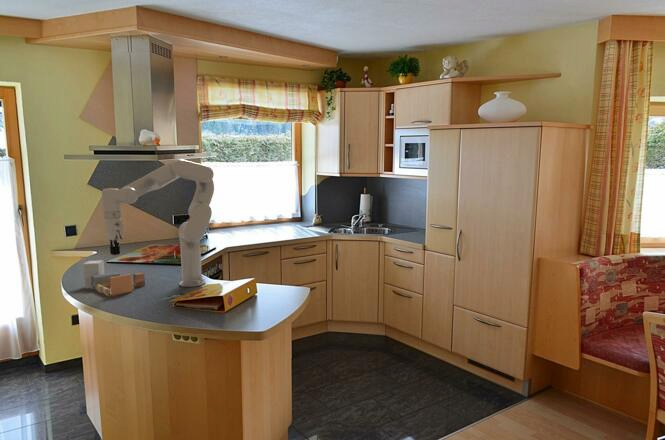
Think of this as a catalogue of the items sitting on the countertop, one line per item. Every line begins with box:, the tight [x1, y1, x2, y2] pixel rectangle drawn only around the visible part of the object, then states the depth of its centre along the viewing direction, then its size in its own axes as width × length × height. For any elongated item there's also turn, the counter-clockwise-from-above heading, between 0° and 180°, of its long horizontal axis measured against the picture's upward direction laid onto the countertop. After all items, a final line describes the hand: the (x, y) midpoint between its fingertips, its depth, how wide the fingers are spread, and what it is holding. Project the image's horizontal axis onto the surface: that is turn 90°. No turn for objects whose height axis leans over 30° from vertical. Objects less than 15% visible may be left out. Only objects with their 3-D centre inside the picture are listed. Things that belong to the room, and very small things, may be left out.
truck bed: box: [90, 271, 135, 297], centre depth 240 cm, size 21×12×7 cm, turn 45°
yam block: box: [132, 272, 146, 288], centre depth 246 cm, size 4×4×7 cm
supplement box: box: [82, 259, 106, 289], centre depth 250 cm, size 7×7×13 cm
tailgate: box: [110, 273, 134, 297], centre depth 232 cm, size 1×10×9 cm, turn 135°
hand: (115, 254), depth 233 cm, fingers closed
